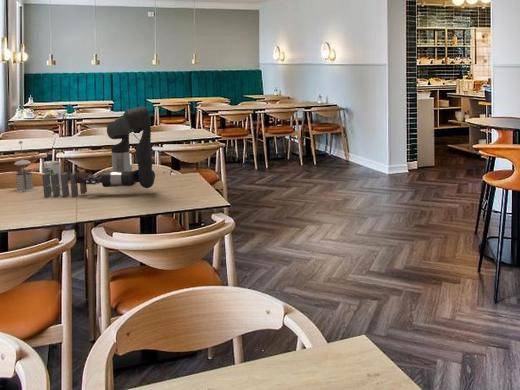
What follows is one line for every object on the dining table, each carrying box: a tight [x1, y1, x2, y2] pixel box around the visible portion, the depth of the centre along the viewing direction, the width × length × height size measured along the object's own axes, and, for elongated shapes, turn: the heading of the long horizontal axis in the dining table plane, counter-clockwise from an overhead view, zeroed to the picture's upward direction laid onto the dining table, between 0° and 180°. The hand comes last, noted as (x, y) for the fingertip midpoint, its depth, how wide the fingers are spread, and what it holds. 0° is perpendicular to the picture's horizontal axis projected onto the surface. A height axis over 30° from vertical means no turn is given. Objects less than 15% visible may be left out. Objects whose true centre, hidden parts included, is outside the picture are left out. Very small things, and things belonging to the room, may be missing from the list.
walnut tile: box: [78, 169, 88, 195], centre depth 270 cm, size 2×5×11 cm, turn 3°
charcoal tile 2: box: [69, 172, 79, 198], centre depth 270 cm, size 2×5×11 cm, turn 3°
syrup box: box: [43, 160, 62, 192], centre depth 285 cm, size 6×6×14 cm
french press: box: [13, 140, 36, 192], centre depth 284 cm, size 10×12×25 cm
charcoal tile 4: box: [52, 173, 61, 198], centre depth 270 cm, size 2×5×11 cm, turn 3°
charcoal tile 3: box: [61, 172, 70, 198], centre depth 270 cm, size 2×5×11 cm, turn 3°
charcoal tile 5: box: [41, 172, 52, 198], centre depth 270 cm, size 2×5×11 cm, turn 3°
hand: (77, 179), depth 270 cm, fingers closed on walnut tile, 5 cm apart
